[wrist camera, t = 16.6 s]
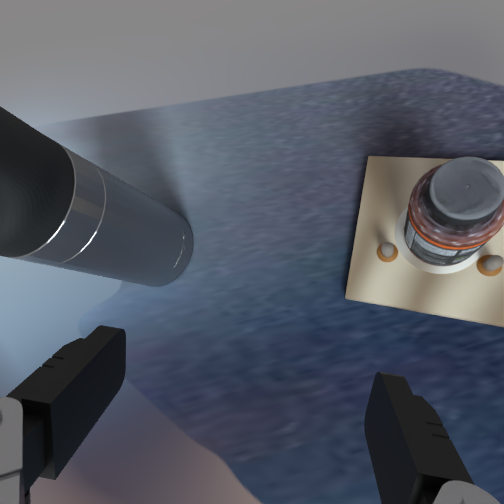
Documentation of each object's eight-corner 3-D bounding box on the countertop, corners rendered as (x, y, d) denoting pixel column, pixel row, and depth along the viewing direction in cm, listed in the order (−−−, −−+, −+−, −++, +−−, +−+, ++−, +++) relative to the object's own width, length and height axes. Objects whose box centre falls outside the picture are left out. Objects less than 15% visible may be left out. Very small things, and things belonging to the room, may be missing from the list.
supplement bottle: (434, 189, 32) (459, 120, 22) (496, 229, 30) (556, 175, 20) (388, 238, 33) (391, 194, 22) (445, 282, 31) (478, 256, 20)
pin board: (346, 298, 34) (342, 295, 31) (368, 161, 36) (367, 146, 33) (522, 330, 29) (538, 330, 26) (537, 168, 31) (553, 151, 28)
